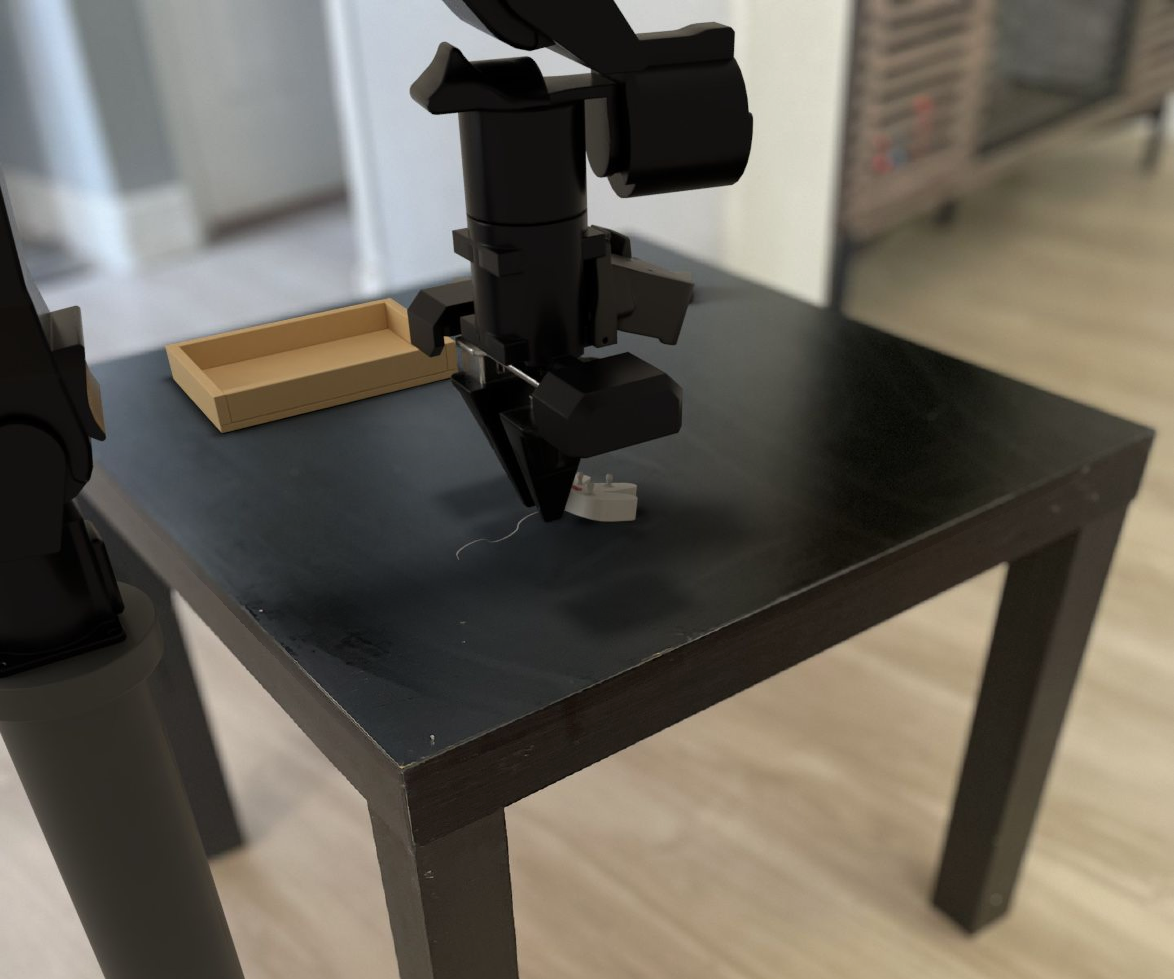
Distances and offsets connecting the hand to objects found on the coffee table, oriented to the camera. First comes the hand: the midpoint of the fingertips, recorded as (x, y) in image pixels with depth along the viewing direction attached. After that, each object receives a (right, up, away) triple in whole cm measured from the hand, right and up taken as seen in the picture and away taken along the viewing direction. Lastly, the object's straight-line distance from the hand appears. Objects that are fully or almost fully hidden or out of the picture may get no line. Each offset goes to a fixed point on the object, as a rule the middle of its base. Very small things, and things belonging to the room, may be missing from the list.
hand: (543, 512), depth 67 cm
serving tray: (-17, +15, +21) cm, 31 cm away
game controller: (0, -1, +1) cm, 1 cm away
